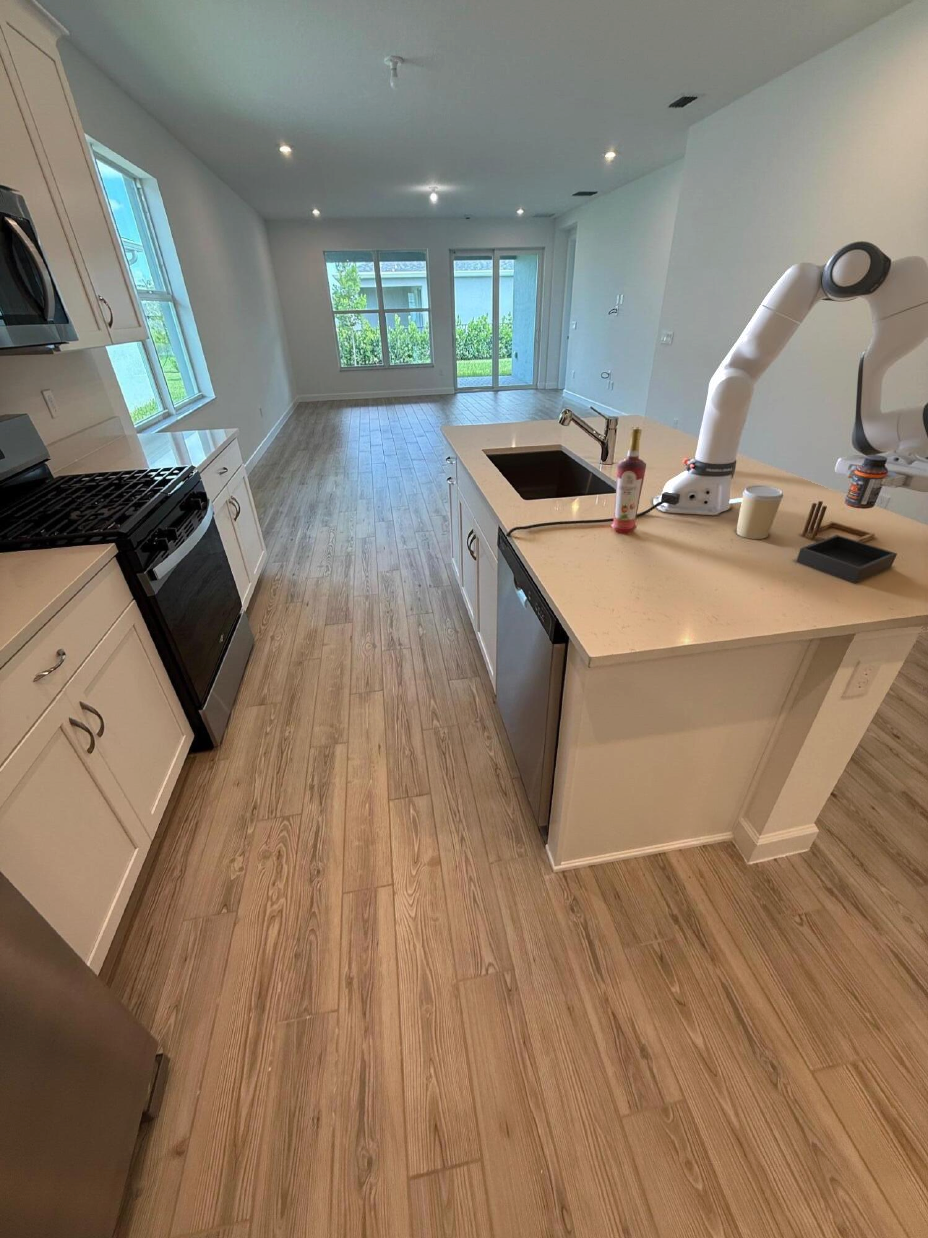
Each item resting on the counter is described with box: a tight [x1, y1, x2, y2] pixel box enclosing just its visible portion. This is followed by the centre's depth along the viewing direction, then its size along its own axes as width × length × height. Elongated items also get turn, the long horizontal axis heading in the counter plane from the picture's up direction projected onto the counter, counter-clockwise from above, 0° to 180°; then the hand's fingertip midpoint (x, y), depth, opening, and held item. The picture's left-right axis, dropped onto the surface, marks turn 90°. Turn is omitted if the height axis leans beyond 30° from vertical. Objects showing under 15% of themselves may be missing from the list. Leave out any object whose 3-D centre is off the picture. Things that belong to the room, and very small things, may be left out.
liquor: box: [611, 426, 647, 535], centre depth 137 cm, size 7×7×28 cm
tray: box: [795, 534, 898, 584], centre depth 120 cm, size 15×14×4 cm
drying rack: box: [801, 500, 875, 543], centre depth 132 cm, size 13×11×9 cm
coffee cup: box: [736, 485, 784, 540], centre depth 135 cm, size 9×9×12 cm
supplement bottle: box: [844, 454, 888, 510], centre depth 117 cm, size 6×6×11 cm
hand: (867, 478), depth 116 cm, fingers closed on supplement bottle, 6 cm apart
